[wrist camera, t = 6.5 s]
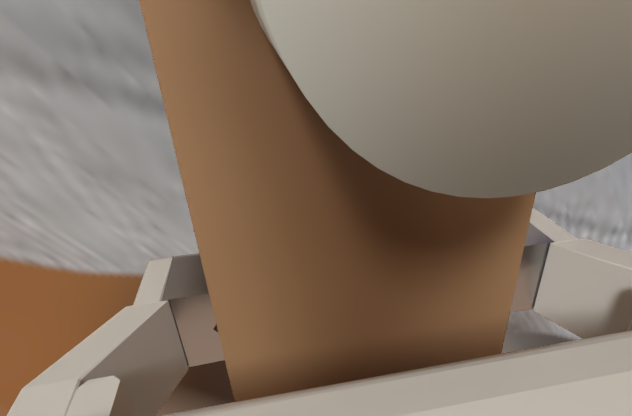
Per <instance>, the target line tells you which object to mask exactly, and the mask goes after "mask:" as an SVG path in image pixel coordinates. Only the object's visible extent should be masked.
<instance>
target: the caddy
mask: <svg viewBox="0 0 632 416" xmlns="http://www.w3.org/2000/svg"><path fill="white" fill-rule="evenodd" d="M139 1H140V6H141V10H142V14H143V18H144V22H145V27H146V31H147V35H148V39H149V43H150V48H151V52H152V56H153V60H154V64H155V69H156V73H157V77H158V81H159V85H160V90H161V94H162V98H163V102H164V106H165V111H166V115H167V119H168V123H169V127H170V132H171V136H172V140H173V144H174V148H175V153H176V157H177V161H178V165H179V169H180V174H181V178H182V182H183V186H184V190H185V195H186V199H187V203H188V207H189V211H190V216H191V220H192V224H193V228H194V232H195V237H196V241H197V245H198V249H199V253H200V257H201V262H202V266H203V270H204V274H205V278H206V283H207V287H208V291H209V295H210V299H211V304H212V308H213V312H214V316H215V320H216V325H217V329H218V333H219V337H220V341H221V346H222V350H223V354H224V358H225V362H226V367H227V371H228V375H229V379H230V383H231V388H232V392H233V396H234V400H235V402H238V401H244V400H250V399H255V398H261V397H266V396H272V395H277V394H283V393H288V392H294V391H299V390H305V389H310V388H316V387H322V386H327V385H333V384H338V383H344V382H349V381H355V380H360V379H366V378H371V377H377V376H382V375H388V374H393V373H399V372H404V371H410V370H415V369H420V368H426V367H431V366H437V365H442V364H448V363H453V362H459V361H464V360H470V359H475V358H481V357H486V356H492V355H497V354H501V352H502V347H503V342H504V337H505V333H506V328H507V324H508V319H509V315H510V310H511V305H512V301H513V296H514V291H515V287H516V282H517V278H518V273H519V268H520V264H521V259H522V254H523V250H524V245H525V240H526V236H527V231H528V227H529V222H530V217H531V213H532V208H533V203H534V199H535V194H536V192H540V191H545V190H548V189H551V188H554V187H557V186H561V185H564V184H567V183H570V182H573V181H576V180H578V179H580V178H582V177H585V176H587V175H589V174H592V173H594V172H596V171H599V170H601V169H603V168H605V167H607V166H608V165H610V164H612V163H614V162H616V161H617V160H619V159H621V158H623V157H625V156H626V155H628V154H630V153H632V0H139Z"/></svg>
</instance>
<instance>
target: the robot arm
mask: <svg viewBox="0 0 632 416" xmlns="http://www.w3.org/2000/svg"><path fill="white" fill-rule="evenodd" d="M529 309H533V311H535V312H537V313H539V314H540V315H542V316H544V317H546V318H547V319H549V320H551V321H553V322H554V323H556V324H558V325H560V326H562V327H563V328H565V329H567V330H569V331H570V332H572V333H574V334H576V335H577V336H579V337H581V338H583V339H581V340H575V341H570V342H564V343H559V344H553V345H547V346H542V347H536V348H531V349H525V350H520V351H514V352H509V353H503V354H497V355H492V356H486V357H481V358H475V359H470V360H464V361H459V362H453V363H448V364H442V365H437V366H431V367H426V368H420V369H415V370H410V371H404V372H399V373H393V374H388V375H382V376H377V377H371V378H366V379H360V380H355V381H349V382H344V383H338V384H333V385H327V386H322V387H316V388H310V389H305V390H299V391H294V392H288V393H283V394H277V395H272V396H266V397H261V398H255V399H250V400H244V401H238V402H233V403H227V404H222V405H216V406H211V407H205V408H200V409H195V410H189V411H183V412H178V413H172V414H166V415H161V416H632V252H629V251H626V250H622V249H619V248H616V247H612V246H609V245H605V244H602V243H598V242H595V241H591V240H588V239H584V238H581V239H577V238H575V237H574V236H572V235H571V234H570V233H568V232H567V231H565V230H564V229H563V228H561V227H560V226H558V225H557V224H556V223H554V222H553V221H551V220H550V219H549V218H547V217H546V216H544V215H543V214H542V213H540V212H539V211H537V210H536V209H535V208H532V213H531V217H530V222H529V227H528V231H527V236H526V240H525V245H524V250H523V254H522V259H521V264H520V268H519V273H518V278H517V282H516V287H515V291H514V296H513V301H512V305H511V310H510V312H514V311H521V310H529ZM222 360H225V358H224V354H223V350H222V346H221V341H220V337H219V333H218V329H217V325H216V320H215V316H214V312H213V308H212V304H211V299H210V295H209V291H208V287H207V283H206V278H205V274H204V270H203V266H202V262H201V257H200V253H198V254H190V255H181V256H175V257H173V256H171V257H164V258H158V259H152V260H150V261H149V262H148V265H147V268H146V271H145V273H144V276H143V279H142V282H141V285H140V287H139V290H138V293H137V296H136V299H135V302H134V304H133V306H127V307H125V308H124V309H122V310H121V311H120V312H119V313H117V314H116V315H115V316H114V317H112V318H111V319H110V320H108V321H107V322H106V323H105V324H103V325H102V326H101V327H100V328H98V329H97V330H96V331H95V332H93V333H92V334H91V335H90V336H88V337H87V338H86V339H84V340H83V341H82V342H81V343H79V344H78V345H77V346H76V347H74V348H73V349H72V350H71V351H69V352H68V353H67V354H66V355H64V356H63V357H62V358H60V359H59V360H58V361H57V362H55V363H54V364H53V365H51V366H50V367H49V368H48V369H47V370H45V371H44V372H43V373H41V374H40V375H39V376H38V377H36V378H35V379H34V380H33V381H31V382H30V383H29V384H27V385H26V386H25V387H24V388H22V390H21V392H20V393H19V395H18V397H17V399H16V400H15V402H14V404H13V406H12V407H11V409H10V411H9V413H8V414H7V416H156V414H157V413H158V411H159V410H160V409H161V407H162V406H163V404H164V403H165V402H166V400H167V399H168V397H169V396H170V395H171V393H172V392H173V390H174V389H175V388H176V386H177V385H178V383H179V382H180V381H181V379H182V378H183V376H184V375H185V373H186V372H187V371H188V367H191V366H196V365H202V364H206V363H212V362H217V361H222Z"/></svg>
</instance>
